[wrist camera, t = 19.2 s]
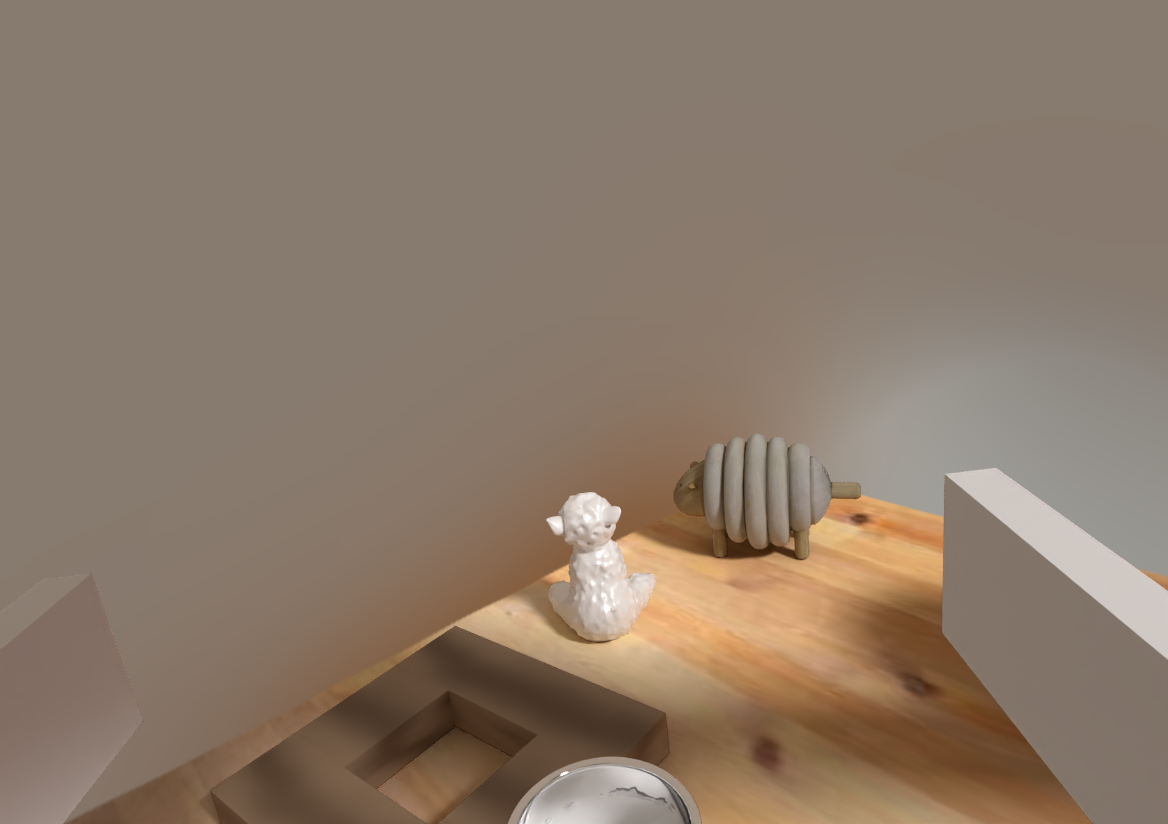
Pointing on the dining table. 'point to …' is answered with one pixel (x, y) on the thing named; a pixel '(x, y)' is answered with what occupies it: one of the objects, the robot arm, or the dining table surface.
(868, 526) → the dining table surface
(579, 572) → the seated beast figurine
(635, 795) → the silver tumbler
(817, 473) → the toy sheep
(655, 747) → the pocket board
